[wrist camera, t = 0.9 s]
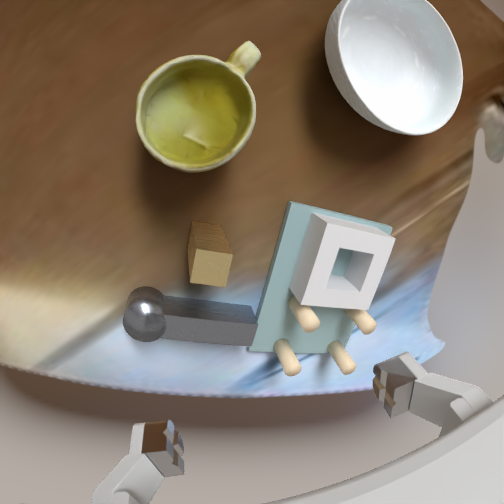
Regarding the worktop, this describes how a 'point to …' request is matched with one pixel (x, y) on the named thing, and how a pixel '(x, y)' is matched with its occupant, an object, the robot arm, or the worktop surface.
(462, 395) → the robot arm
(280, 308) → the jig plate
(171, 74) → the mug
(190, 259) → the wooden bar
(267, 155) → the worktop surface
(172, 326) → the grey lever handle
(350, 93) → the cereal bowl
